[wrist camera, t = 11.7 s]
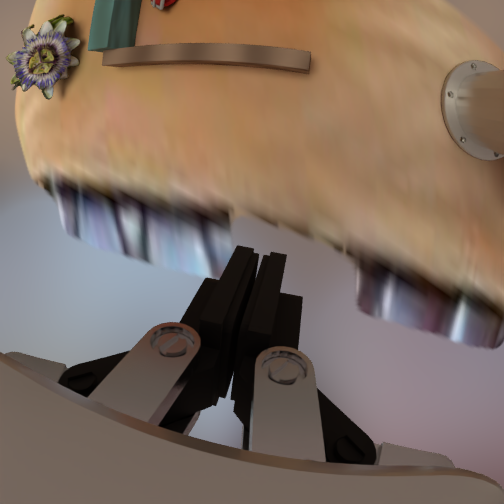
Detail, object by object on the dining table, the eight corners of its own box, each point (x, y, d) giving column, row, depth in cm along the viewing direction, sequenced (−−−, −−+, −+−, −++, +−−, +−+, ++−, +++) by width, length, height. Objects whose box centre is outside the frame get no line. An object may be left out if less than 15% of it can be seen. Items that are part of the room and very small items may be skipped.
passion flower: (97, 62, 37) (57, 109, 32) (46, 62, 36) (5, 107, 30) (93, 2, 27) (41, 41, 22) (37, 8, 26) (-15, 48, 20)
